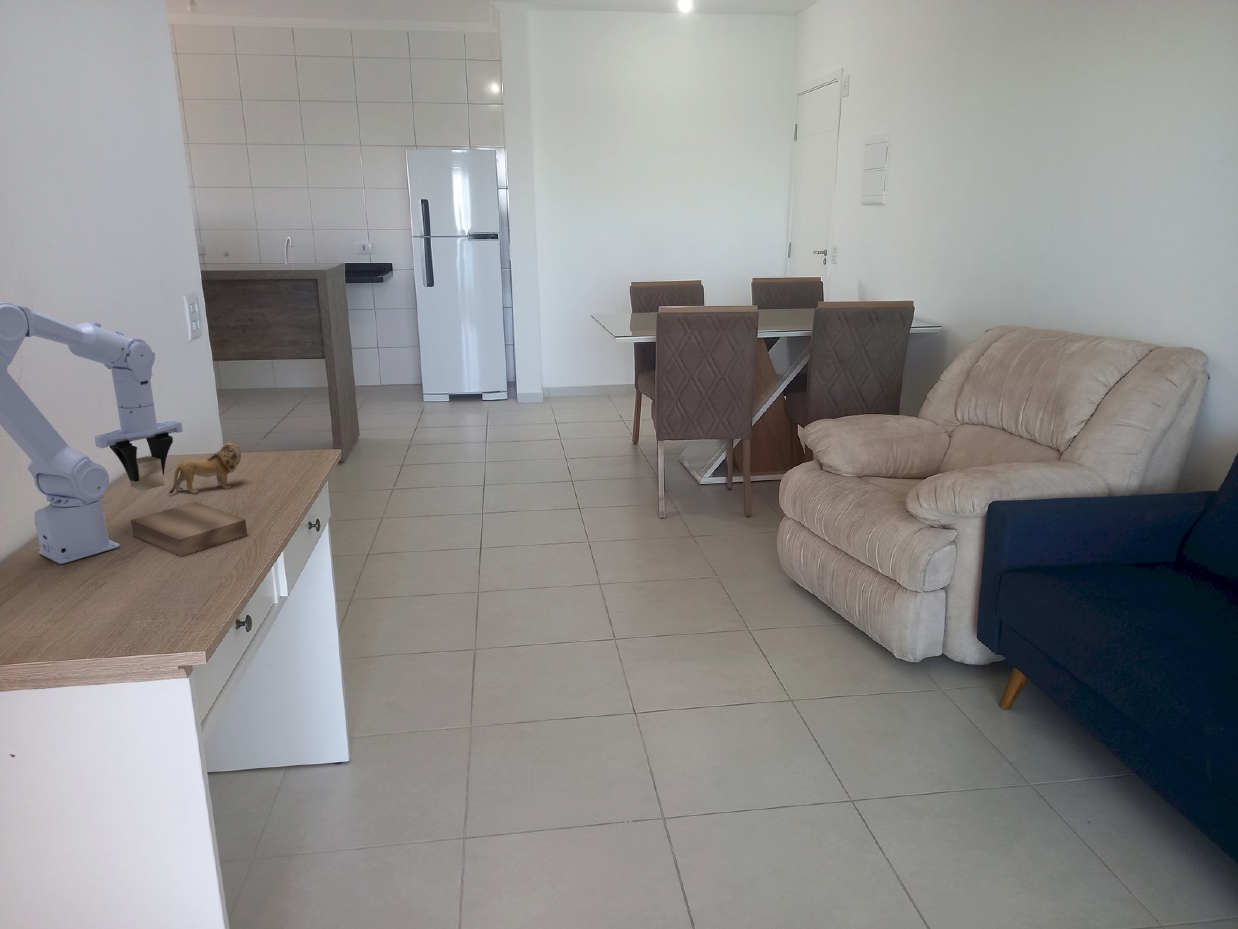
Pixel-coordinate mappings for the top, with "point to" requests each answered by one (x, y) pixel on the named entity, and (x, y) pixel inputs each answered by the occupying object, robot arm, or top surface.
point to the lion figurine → (208, 468)
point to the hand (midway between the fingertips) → (147, 477)
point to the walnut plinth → (189, 528)
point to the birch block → (148, 473)
